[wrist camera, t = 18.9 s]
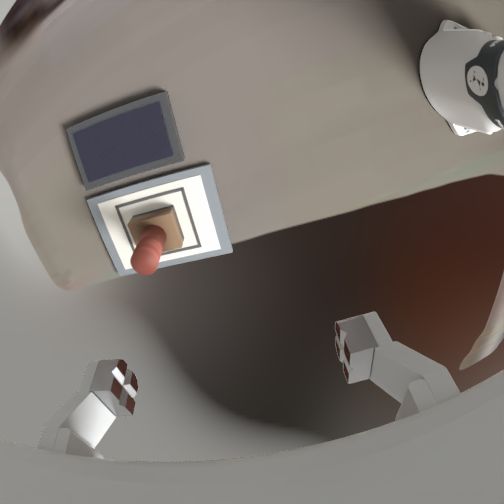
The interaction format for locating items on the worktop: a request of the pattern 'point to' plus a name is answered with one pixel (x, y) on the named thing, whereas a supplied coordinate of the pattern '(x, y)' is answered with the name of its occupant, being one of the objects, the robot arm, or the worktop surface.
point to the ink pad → (126, 141)
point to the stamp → (154, 237)
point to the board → (159, 196)
